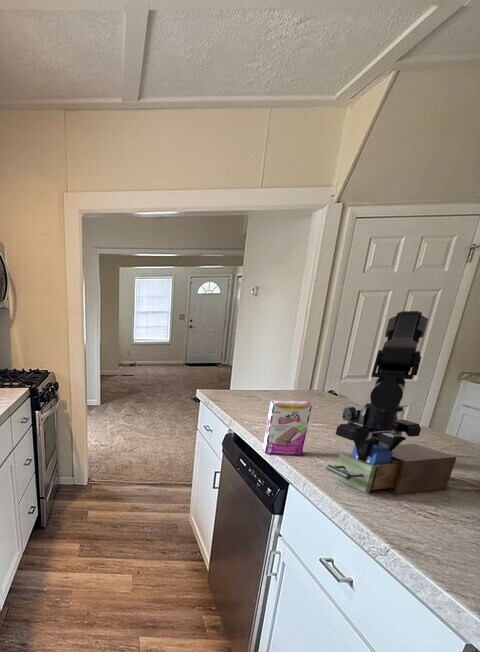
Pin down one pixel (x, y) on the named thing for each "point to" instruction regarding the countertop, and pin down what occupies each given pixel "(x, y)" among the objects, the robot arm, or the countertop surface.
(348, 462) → the drawer
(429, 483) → the cabinet
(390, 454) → the block
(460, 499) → the countertop surface
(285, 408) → the candy bar box
